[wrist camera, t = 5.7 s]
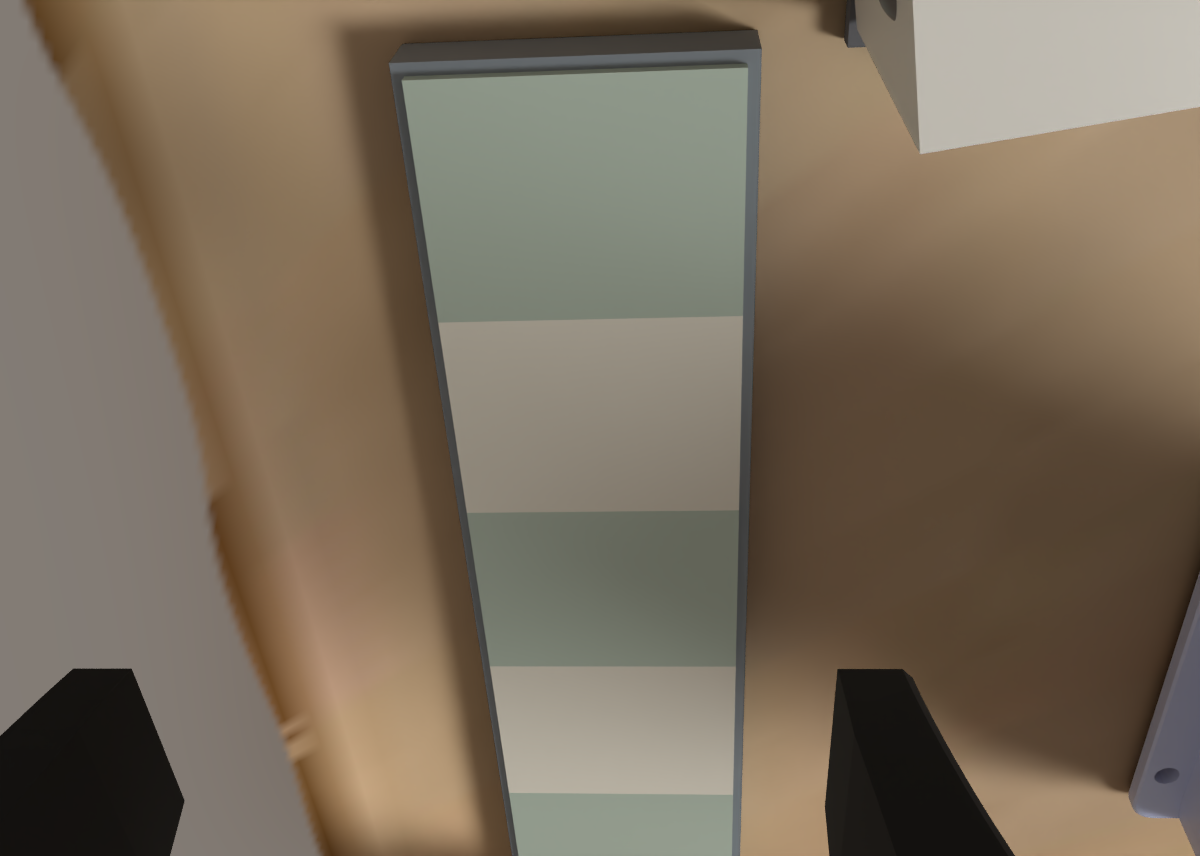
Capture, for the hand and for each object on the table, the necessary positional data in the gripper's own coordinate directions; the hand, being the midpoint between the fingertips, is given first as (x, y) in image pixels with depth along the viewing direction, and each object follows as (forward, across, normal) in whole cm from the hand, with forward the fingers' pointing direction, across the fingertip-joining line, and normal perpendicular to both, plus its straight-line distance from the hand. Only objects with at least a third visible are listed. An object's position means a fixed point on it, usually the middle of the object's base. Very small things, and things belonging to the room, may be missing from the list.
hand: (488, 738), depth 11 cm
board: (+10, 0, +8) cm, 13 cm away
